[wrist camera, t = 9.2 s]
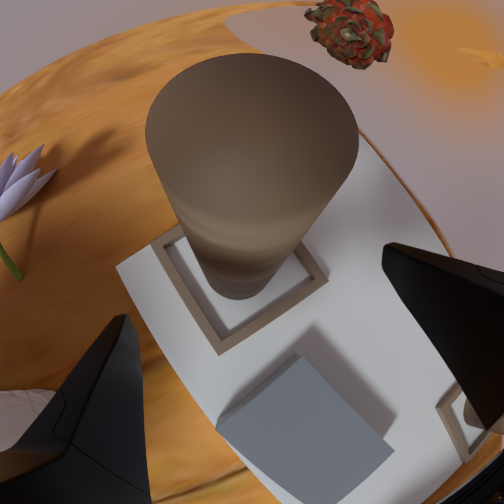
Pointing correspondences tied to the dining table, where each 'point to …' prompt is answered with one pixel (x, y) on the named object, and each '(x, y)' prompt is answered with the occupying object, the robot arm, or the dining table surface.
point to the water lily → (18, 191)
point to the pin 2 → (472, 420)
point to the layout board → (321, 333)
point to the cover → (304, 435)
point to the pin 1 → (249, 161)
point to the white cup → (20, 412)
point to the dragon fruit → (352, 31)
